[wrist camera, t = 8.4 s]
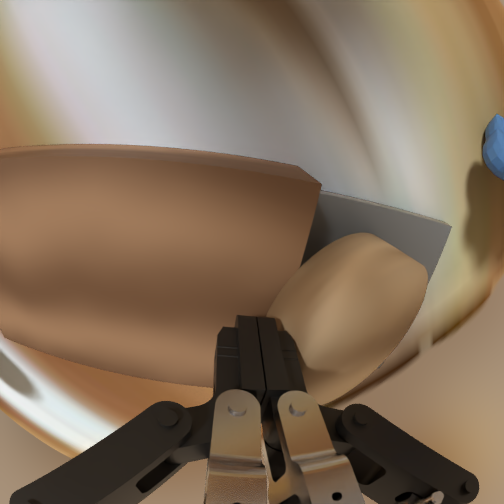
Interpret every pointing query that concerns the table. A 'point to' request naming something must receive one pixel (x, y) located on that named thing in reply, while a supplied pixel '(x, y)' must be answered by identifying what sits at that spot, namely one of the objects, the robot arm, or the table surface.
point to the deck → (144, 251)
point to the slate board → (376, 228)
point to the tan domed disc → (349, 311)
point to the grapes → (495, 146)
